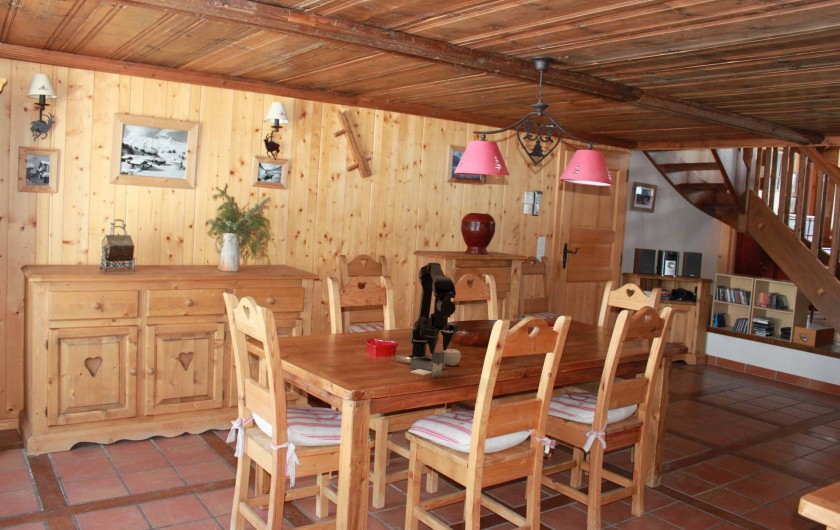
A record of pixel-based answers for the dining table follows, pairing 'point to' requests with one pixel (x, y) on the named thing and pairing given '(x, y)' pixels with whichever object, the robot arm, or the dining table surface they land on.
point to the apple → (451, 357)
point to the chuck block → (420, 362)
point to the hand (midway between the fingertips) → (438, 352)
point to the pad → (421, 372)
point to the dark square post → (437, 363)
